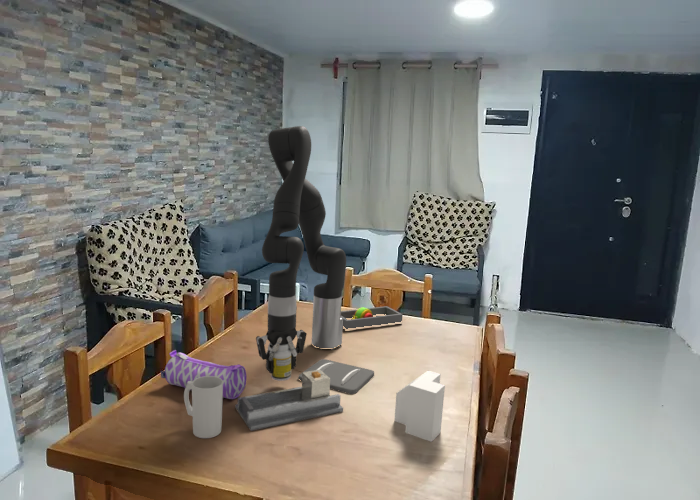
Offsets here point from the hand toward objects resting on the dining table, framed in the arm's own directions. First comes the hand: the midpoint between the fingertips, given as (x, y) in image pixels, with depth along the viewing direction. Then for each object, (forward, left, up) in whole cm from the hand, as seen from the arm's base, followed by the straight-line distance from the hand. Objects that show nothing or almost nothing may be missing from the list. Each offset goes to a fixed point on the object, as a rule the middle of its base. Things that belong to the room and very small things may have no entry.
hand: (281, 370), depth 147 cm
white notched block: (-23, +32, -5) cm, 40 cm away
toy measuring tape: (-52, -40, -5) cm, 65 cm away
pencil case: (+19, -6, -5) cm, 21 cm away
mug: (+25, +14, -5) cm, 29 cm away
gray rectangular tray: (-50, -39, -5) cm, 64 cm away
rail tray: (+3, +13, -5) cm, 14 cm away
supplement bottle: (0, 0, -2) cm, 2 cm away
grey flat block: (-17, 0, -6) cm, 18 cm away
